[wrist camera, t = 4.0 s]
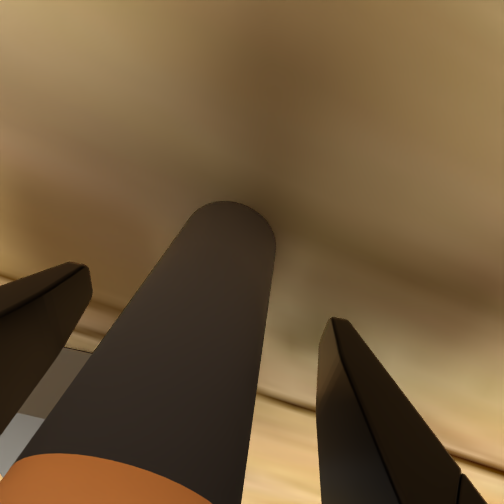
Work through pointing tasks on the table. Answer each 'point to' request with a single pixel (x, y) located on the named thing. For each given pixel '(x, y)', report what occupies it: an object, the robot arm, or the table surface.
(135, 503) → the plug
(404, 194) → the table surface
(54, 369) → the port block
